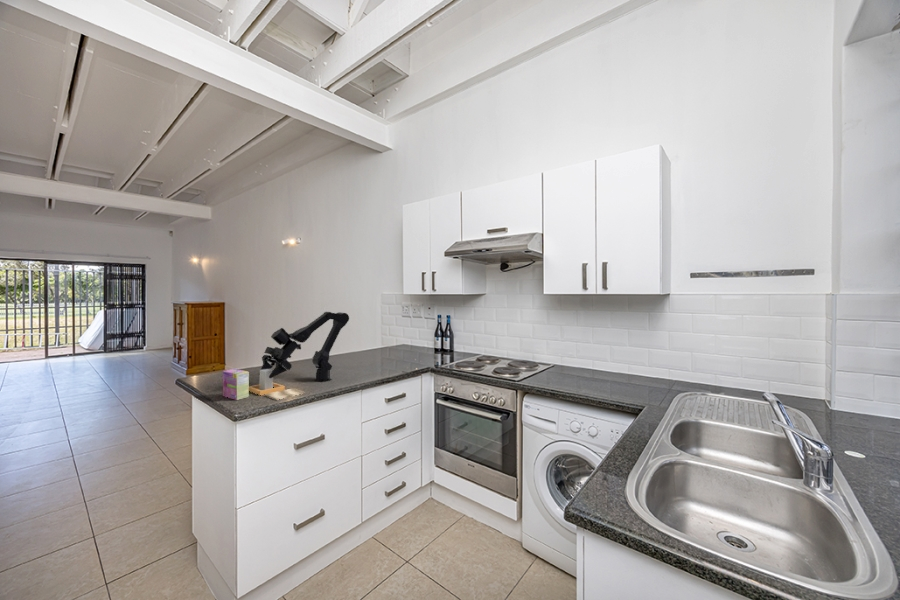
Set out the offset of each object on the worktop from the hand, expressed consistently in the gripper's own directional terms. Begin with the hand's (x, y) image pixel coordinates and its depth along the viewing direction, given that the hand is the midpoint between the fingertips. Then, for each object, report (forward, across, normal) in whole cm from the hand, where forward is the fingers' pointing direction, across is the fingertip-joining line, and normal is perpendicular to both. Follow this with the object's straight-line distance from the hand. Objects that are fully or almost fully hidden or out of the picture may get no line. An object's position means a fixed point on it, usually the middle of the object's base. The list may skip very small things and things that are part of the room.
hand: (264, 376), depth 176 cm
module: (+4, 0, +6) cm, 7 cm away
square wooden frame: (+4, 0, +6) cm, 7 cm away
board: (+3, +13, +7) cm, 15 cm away
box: (+14, 0, -4) cm, 15 cm away
